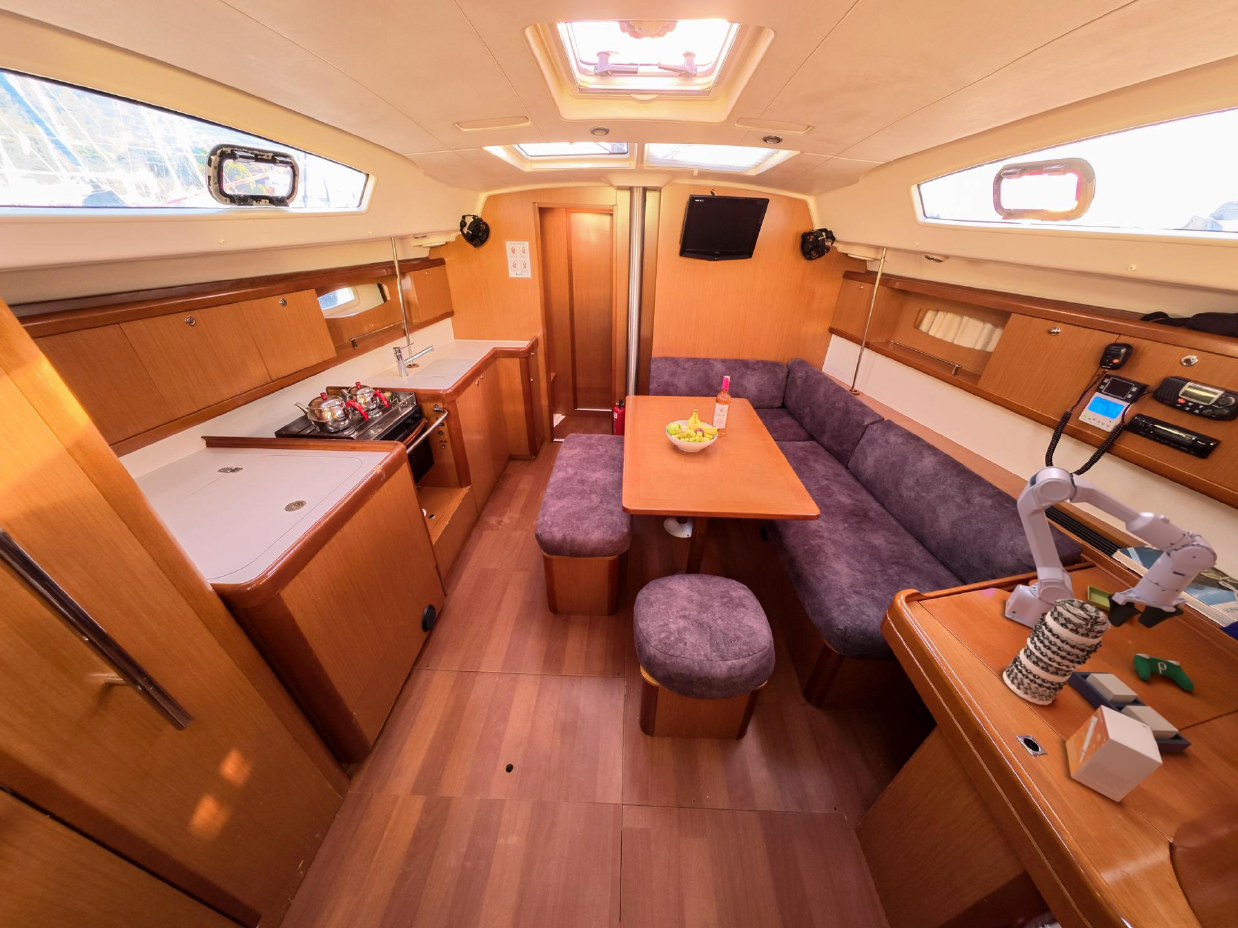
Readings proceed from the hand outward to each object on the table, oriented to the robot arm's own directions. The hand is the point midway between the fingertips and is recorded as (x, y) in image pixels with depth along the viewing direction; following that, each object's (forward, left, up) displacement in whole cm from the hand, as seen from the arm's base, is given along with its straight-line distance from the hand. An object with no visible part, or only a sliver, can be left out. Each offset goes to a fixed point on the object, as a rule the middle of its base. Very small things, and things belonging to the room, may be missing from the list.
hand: (1128, 624), depth 97 cm
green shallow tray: (+2, +23, -10) cm, 25 cm away
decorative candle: (-15, -28, -10) cm, 33 cm away
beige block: (+2, -25, -9) cm, 26 cm away
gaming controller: (+8, -2, -10) cm, 13 cm away
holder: (0, -22, -9) cm, 24 cm away
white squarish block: (-2, -19, -9) cm, 21 cm away
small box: (-6, -43, -10) cm, 44 cm away
